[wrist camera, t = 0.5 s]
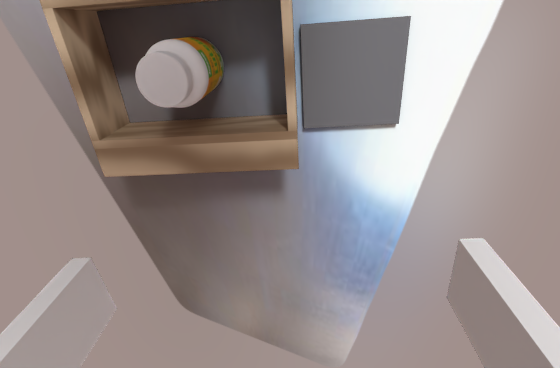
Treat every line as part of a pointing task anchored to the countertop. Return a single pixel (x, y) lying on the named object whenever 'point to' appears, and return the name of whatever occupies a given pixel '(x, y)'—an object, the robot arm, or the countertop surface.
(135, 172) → the wooden frame
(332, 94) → the mat
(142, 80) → the supplement bottle
